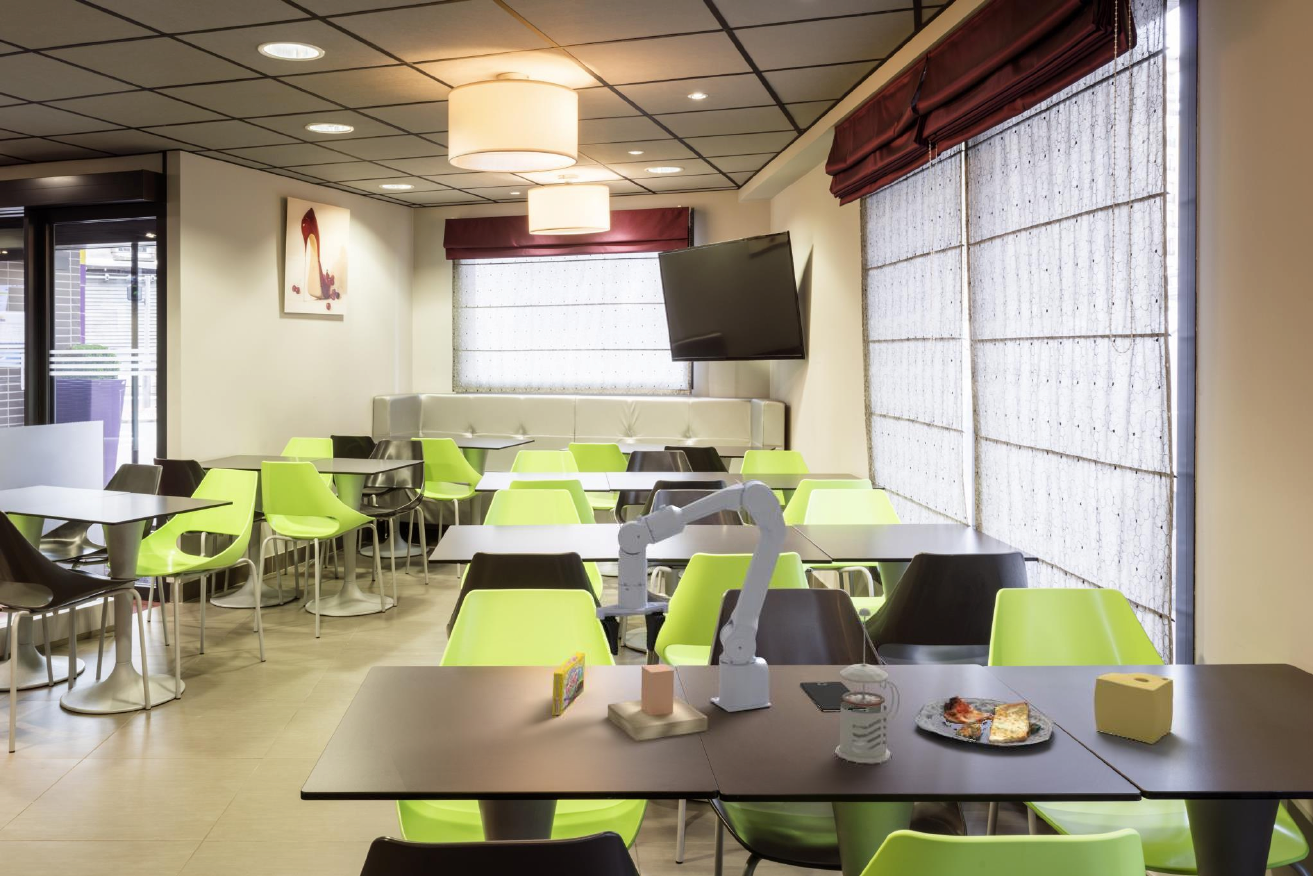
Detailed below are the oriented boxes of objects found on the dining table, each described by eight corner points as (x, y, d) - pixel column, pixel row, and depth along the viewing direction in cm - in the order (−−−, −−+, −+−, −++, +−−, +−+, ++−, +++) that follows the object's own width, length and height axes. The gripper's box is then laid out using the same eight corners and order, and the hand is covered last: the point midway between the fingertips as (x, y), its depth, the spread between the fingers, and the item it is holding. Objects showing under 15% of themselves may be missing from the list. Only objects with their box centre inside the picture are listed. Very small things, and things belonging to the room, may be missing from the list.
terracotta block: (663, 706, 191) (664, 663, 190) (673, 713, 186) (673, 670, 186) (641, 708, 189) (641, 666, 188) (650, 716, 185) (651, 672, 184)
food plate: (932, 700, 202) (933, 683, 202) (1058, 719, 192) (1058, 701, 192) (905, 743, 180) (905, 724, 179) (1045, 766, 169) (1046, 746, 169)
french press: (822, 747, 175) (824, 604, 174) (879, 739, 180) (881, 599, 179) (854, 767, 166) (856, 616, 165) (913, 758, 171) (915, 611, 169)
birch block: (675, 710, 197) (675, 695, 197) (707, 733, 184) (707, 717, 184) (607, 720, 192) (607, 704, 191) (636, 744, 179) (636, 727, 179)
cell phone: (840, 685, 214) (840, 681, 214) (867, 712, 196) (867, 707, 196) (799, 686, 213) (799, 682, 213) (822, 714, 195) (823, 709, 195)
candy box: (562, 716, 192) (562, 673, 192) (551, 716, 192) (551, 673, 192) (585, 691, 208) (585, 651, 207) (575, 691, 208) (575, 651, 208)
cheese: (1115, 719, 192) (1116, 666, 191) (1175, 733, 184) (1177, 678, 184) (1092, 732, 184) (1093, 677, 184) (1154, 747, 177) (1156, 690, 176)
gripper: (605, 589, 191) (605, 661, 192) (675, 584, 197) (674, 653, 198) (592, 583, 198) (592, 652, 198) (660, 577, 203) (660, 645, 204)
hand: (632, 652), depth 198 cm, fingers open, 7 cm apart
